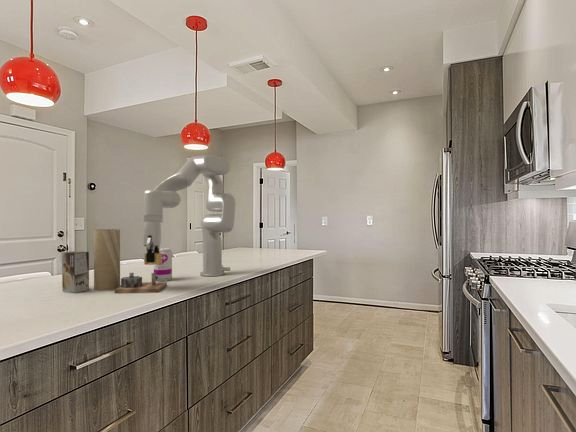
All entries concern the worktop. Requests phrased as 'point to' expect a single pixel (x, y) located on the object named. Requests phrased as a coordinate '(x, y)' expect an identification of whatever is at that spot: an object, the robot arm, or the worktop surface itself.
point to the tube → (106, 259)
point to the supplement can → (164, 266)
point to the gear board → (139, 285)
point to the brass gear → (157, 259)
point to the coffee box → (75, 271)
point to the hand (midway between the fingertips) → (153, 260)
